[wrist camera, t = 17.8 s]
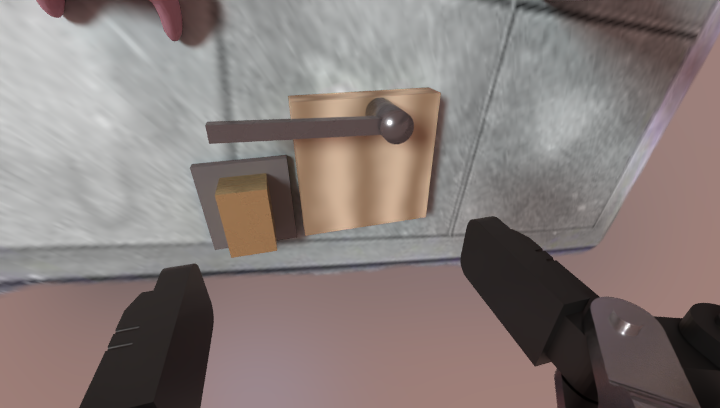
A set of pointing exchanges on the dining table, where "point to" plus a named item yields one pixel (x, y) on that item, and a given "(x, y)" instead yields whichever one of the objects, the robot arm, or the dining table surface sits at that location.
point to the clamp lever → (319, 126)
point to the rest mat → (272, 166)
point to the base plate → (364, 162)
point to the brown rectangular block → (246, 214)
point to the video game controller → (164, 3)
